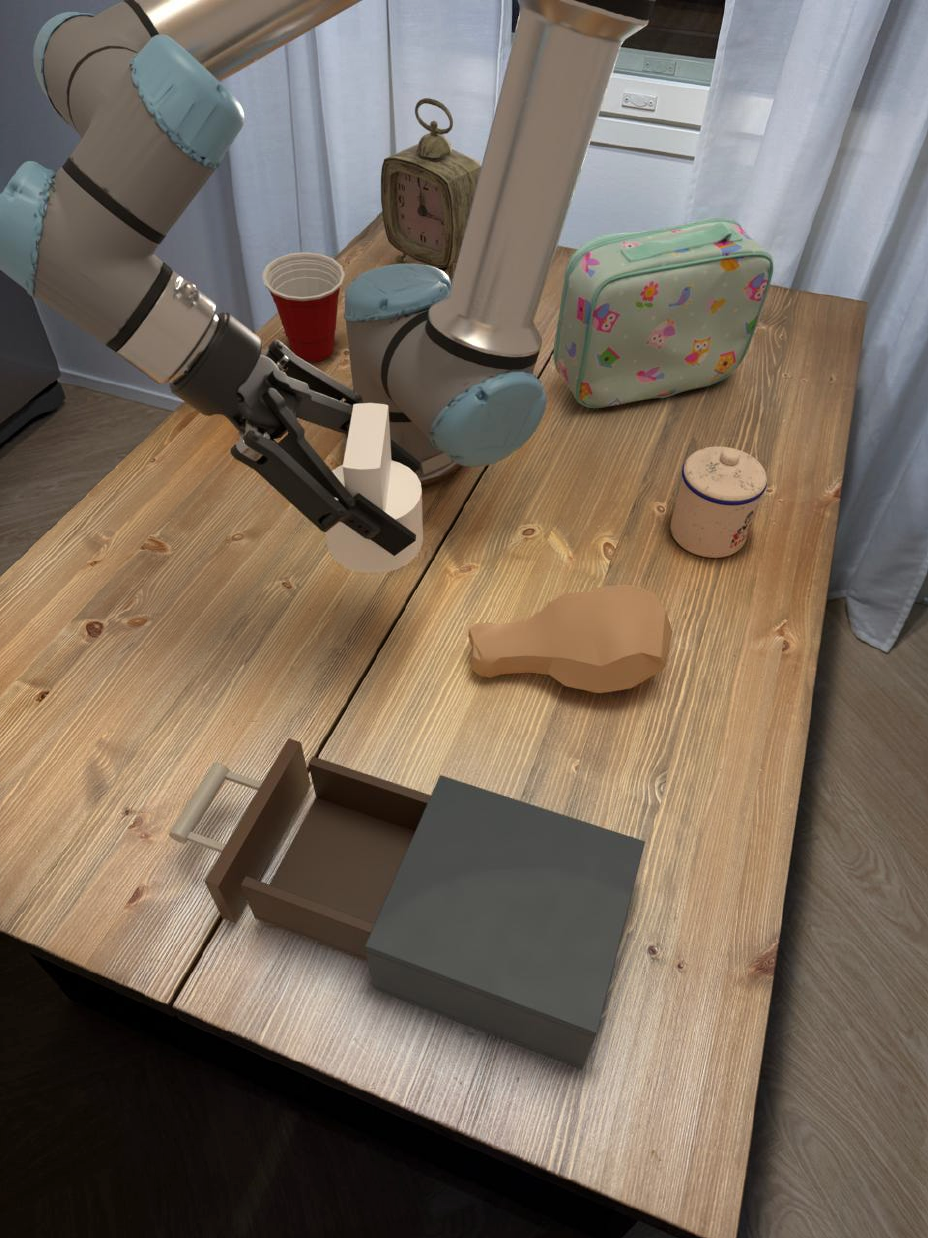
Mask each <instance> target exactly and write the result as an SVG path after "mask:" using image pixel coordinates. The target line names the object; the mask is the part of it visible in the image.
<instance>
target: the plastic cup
mask: <svg viewBox="0 0 928 1238" xmlns="http://www.w3.org/2000/svg"><path fill="white" fill-rule="evenodd" d="M345 277H346V274H345V270H344V268H343V266H342V264H340V263H339V262H338V261H337V260H336V259H334V258H332V257H330V256H327V255H324V254H322V253H318V252H317V253H316V252H307V251H303V252H293V253H288V254H287V253H286V254H285V255H282V256H280V257H277V258H274V259H273V260H272V261H271V262H269V263H268V264H267V265H265V267H264V270H263V272H262V274H261V278H262V280H263V281H262V282H263V284H264V287H265V288H266V289H267V290H268V292H269V293H270V296H271V298H272V300H273V302H274V304H275V307H276V310H277V313H278V315H279V318H280V321H281V325H282V327H283V330H284V333H285V336H286V338H287V340H288V344H289V346H290V350H291V351H292V352H293V353H294V354H295V355H296V356H298V357H299V358H301V359H303V360H304V361H306V362H307V363H314V362H321V361H323V360H326V359H328V358H329V357H331V356H332V355H333V352H334V347H335V342H336V341H335V338H336V330H337V321H338V320H337V319H338V308H339V297H340V291H341V287H342V285H343V282H344V279H345Z"/></svg>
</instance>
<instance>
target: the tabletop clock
mask: <svg viewBox="0 0 928 1238" xmlns="http://www.w3.org/2000/svg"><path fill="white" fill-rule="evenodd" d="M425 104H427V105H432V106H435V107H437V108H439V109H441V110H442V111H443V112H444V113H445V115H446V116H447V118H448V120H449V125H448V127H447V128H438V122H437V121H436V120H432V121H430V123H429V124H428V123H426V122H425V121H424V120H423V119H422V118H421V117H420V115H419V109H420V107H421V106H422V105H425ZM414 115H415V118H416V120H417V122H418V124H419V125H420V126H421V127H423V128H424V129H425V130H427V131H428V133H426V134H424V135H423V136H421V137H420V139H419V140H418V143H416V144H415V145H411V146H410V147H408V148H406V149H404V150H401V151H399V152H397V153H395V154H392V155H390V156H388V157H386V158H384V159H383V161H382V165H381V170H380V171H381V173H380V202H381V203H380V204H381V211H382V213H381V214H382V221H383V226H384V231H385V235H386V238H387V241H388V243H390V245H391V246H392V247H393V248H395V249H396V250H397V251H399V252H401V253H402V255H398V256H397V257H396V259H395V264H407V258H406V257H407V256H408V257H410V258H411V259H414V260H416V261H418V262H420V263H424V264H425V265H428V266H432V267H435V268H441V269H443V268H448V277H449V279H450V281H451V285H452V281H453V277H454V264H457V261H458V257H459V253H460V249H461V245H462V241H463V237H464V233H465V230H466V226H467V222H468V218H469V214H470V210H471V206H472V202H473V198H474V194H475V190H476V186H477V182H478V178H479V174H480V170H481V166H482V163H481V162H480V161H479V160H477V159H476V158H473V157H471V156H469V155H467V154H464V153H462V152H460V151H458V150H455V149H453V147H452V144H451V142H450V140H449V139H448V137H447V136H445V135H446V134H449V133H450V132H451V131H452V130H453V126H454V119H453V115H452V113H451V111H450V110H449V108H447V106H446V105H445V104H444V103H442V102H441V101H438V100H437V99H434V98H429V97H425V98H422V99H419V100H418V101H417V103H416V104H415V107H414Z"/></svg>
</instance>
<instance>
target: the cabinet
mask: <svg viewBox="0 0 928 1238" xmlns="http://www.w3.org/2000/svg"><path fill="white" fill-rule="evenodd" d="M430 795H431V797H430V799H429V801H428V804H427V806H426V808H425V811H424V813H423V815H422V817H421V820H420V822H419V824H418V826H417V829H416V831H415V833H414V835H413V838H412V840H411V842H410V845H409V847H408V849H407V851H406V854H405V856H404V858H403V860H402V863H401V865H400V867H399V870H398V872H397V874H396V876H395V879H394V881H393V883H392V885H391V888H390V890H389V892H388V895H387V897H386V899H385V901H384V904H383V906H382V908H381V910H380V913H379V915H378V917H377V919H376V922H375V924H374V926H373V929H372V931H371V933H370V935H369V938H368V940H367V942H366V944H365V949H366V955H367V960H368V962H367V964H368V970H369V974H370V980H371V985H372V989H373V990H376V991H378V992H380V993H383V994H385V995H388V996H391V997H393V998H396V999H398V1000H400V1001H404V1002H406V1003H409V1004H412V1005H414V1006H417V1007H419V1008H422V1009H424V1010H427V1011H429V1012H431V1013H434V1014H438V1015H439V1016H443V1017H445V1018H448V1019H449V1020H452V1021H455V1022H458V1023H460V1024H463V1025H466V1026H469V1027H471V1028H473V1029H476V1030H478V1031H481V1032H484V1033H487V1034H489V1035H491V1036H494V1037H497V1038H499V1039H502V1040H505V1041H507V1042H510V1043H512V1044H515V1045H517V1046H519V1047H522V1048H525V1049H528V1050H530V1051H533V1052H536V1053H538V1054H539V1055H540V1054H541V1055H542V1056H546V1057H548V1058H551V1059H553V1060H556V1061H559V1062H561V1063H564V1064H567V1065H569V1066H572V1067H574V1068H577V1069H579V1070H583V1069H584V1067H585V1064H586V1062H587V1060H588V1057H589V1055H590V1052H591V1050H592V1048H593V1044H594V1042H595V1039H596V1037H597V1035H598V1032H599V1028H600V1024H601V1019H602V1016H603V1011H604V1007H605V1003H606V1000H607V996H608V991H609V988H610V984H611V980H612V975H613V973H614V968H615V965H616V960H617V956H618V951H619V948H620V945H621V944H620V943H621V941H622V936H623V932H624V928H625V924H626V920H627V916H628V912H629V909H630V904H631V900H632V896H633V893H634V888H635V884H636V880H637V875H638V872H639V869H640V864H641V861H642V856H643V853H644V848H645V844H646V840H642V839H639V838H636V837H634V836H630V835H628V834H627V835H626V834H624V833H621V832H617V831H614V830H611V829H608V828H605V827H602V826H600V825H599V826H598V825H596V824H593V823H591V822H587V821H584V820H580V819H577V818H574V817H571V816H569V815H565V814H562V813H559V812H555V811H554V810H550V809H547V808H543V807H540V806H537V805H535V804H531V803H529V802H525V801H522V800H519V799H517V798H516V799H515V798H513V797H510V796H507V795H504V794H500V793H497V792H495V791H491V790H488V789H484V788H482V787H479V786H476V785H473V784H469V783H466V782H463V781H460V780H458V779H454V778H451V777H448V776H445V775H442V774H440V775H439V776H438V779H437V781H436V783H435V786H434V788H433V790H432V792H431V794H430Z"/></svg>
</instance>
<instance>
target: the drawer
mask: <svg viewBox="0 0 928 1238" xmlns="http://www.w3.org/2000/svg"><path fill="white" fill-rule="evenodd" d="M303 749H304V748H303V745H302V742H301V741H298V740H296V739H292V738H290V737H288V738H287V740H286V742H285V743H284V745H283V747H282V748H281V750H280V752H279V753H278V755H277V757H276V759H275V760H274V762H273V764H272V766H271V767H270V769H269V770H268V772H267V774H266V776H265V777H264V779H263V780H262V781H260V780H256V779H253V778H250V777H247V776H245V775H242V774H239V773H236V772H233V771H231V770H230V768H229V767H228V766H226V765H225V764H223V763H222V762H218V761H215V762H213V763H212V765H211V767H209V770H208V771H207V773H206V774H205V775H204V778H202V780H201V782H200V783H199V785H198V786H197V788H196V790H195V792H194V793H193V794H192V796H191V798H190V799H189V801H188V802H187V804H186V805H185V807H184V809H183V810H182V811H181V813H180V814H179V816H178V818H177V819H176V821H175V823H174V824H173V826H172V827H171V828H170V830H169V832H168V835H169V837H170V838H171V839H172V840H173V841H175V842H177V843H180V844H182V845H183V844H187V842H190V843H193V844H194V845H195V844H196V845H197V846H201V847H204V848H207V849H210V850H212V851H214V852H218V853H219V855H218V857H217V858H216V860H215V862H214V864H213V865H212V867H211V869H210V871H209V873H208V875H207V876H206V878H205V879H204V884H205V886H206V888H207V890H208V892H209V894H210V896H211V898H212V900H213V902H214V905H215V906H216V909H217V910H218V913H219V915H220V917H221V918H222V919H223V920H225V921H228V922H231V923H233V924H236V922H237V920H238V919H239V917H240V915H241V913H242V911H243V910H244V908H245V906H246V904H248V907H249V908H250V911H251V913H252V915H253V918H254V920H256V921H260V922H262V923H266V924H268V925H270V926H273V927H276V928H278V929H281V930H284V931H286V932H288V933H291V934H294V935H296V936H299V937H301V938H304V939H307V940H310V941H313V942H314V943H318V944H321V945H323V946H326V947H328V948H330V949H334V950H336V951H338V952H341V953H344V954H346V955H349V956H352V957H354V958H357V959H360V960H362V961H365V962H367V963H368V960H367V955H366V949H365V944H366V942H367V940H368V938H369V935H370V933H371V931H372V929H373V926H374V924H375V922H376V919H377V917H378V915H379V913H380V910H381V908H382V906H383V904H384V901H385V899H386V897H387V895H388V892H389V890H390V888H391V885H392V883H393V881H394V879H395V876H396V874H397V872H398V870H399V867H400V865H401V863H402V860H403V858H404V856H405V854H406V851H407V849H408V847H409V845H410V842H411V840H412V838H413V835H414V833H415V831H416V829H417V826H418V824H419V822H420V820H421V817H422V815H423V813H424V811H425V808H426V806H427V804H428V801H429V799H430V797H431V795H432V794H428V793H426V792H422V791H420V790H416V789H413V788H410V787H407V786H404V785H401V784H399V783H395V782H392V781H390V780H386V779H383V778H381V777H378V776H377V777H376V776H373V775H371V774H367V773H365V772H362V771H359V770H355V769H353V768H350V767H346V766H343V765H340V764H337V763H334V762H331V761H329V760H325V759H322V758H319V757H316V756H314V755H312V756H311V758H310V759H309V761H308V764H307V762H306V758H305V753H304V750H303ZM307 765H308V767H307ZM308 769H309V770H308ZM309 774H310V775H309ZM310 778H311V779H310ZM226 781H229V782H232V783H235V784H238V785H241V786H244V787H246V788H249V789H252V790H255V791H256V793H255V795H254V796H253V798H252V799H251V801H250V803H249V804H248V806H247V807H246V809H245V811H244V813H243V814H242V816H241V818H240V820H239V821H238V823H237V825H236V827H235V828H234V830H233V832H232V834H231V835H230V837H229V838H228V840H227V842H226V843H223V842H221V841H218V840H215V839H212V838H209V837H207V836H204V835H202V834H198V833H195V830H196V828H197V826H198V825H199V824H200V822H201V821H202V819H203V817H204V815H205V814H206V812H207V811H208V809H209V807H210V806H211V804H212V802H214V799H215V798H216V796H217V794H218V793H219V791H220V790H221V788H222V786H223V785H224V783H225V782H226ZM311 781H312V783H311ZM311 785H312V786H313V791H314V795H315V798H314V800H313V802H312V804H311V806H310V808H309V810H308V811H307V813H306V815H305V817H304V818H303V820H302V822H301V825H300V827H299V828H298V830H297V832H296V833H295V836H294V837H293V840H292V842H291V843H290V845H289V846H288V848H287V851H286V852H285V854H284V856H283V858H282V860H281V861H280V863H279V865H278V868H277V869H276V871H275V873H274V875H273V876H272V878H271V880H270V881H269V884H268V883H266V882H264V881H261V880H260V878H261V877H262V875H263V873H264V871H265V869H266V867H267V866H268V864H269V862H270V860H271V858H272V857H273V855H274V853H275V850H276V849H277V847H278V846H279V844H280V842H281V840H282V838H283V836H284V835H285V832H286V831H287V829H288V827H289V825H290V823H291V822H292V820H293V817H294V816H295V815H296V812H297V811H298V809H299V807H300V805H301V804H302V801H303V800H304V798H305V797H306V794H307V793H308V791H309V789H310V787H311Z"/></svg>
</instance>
